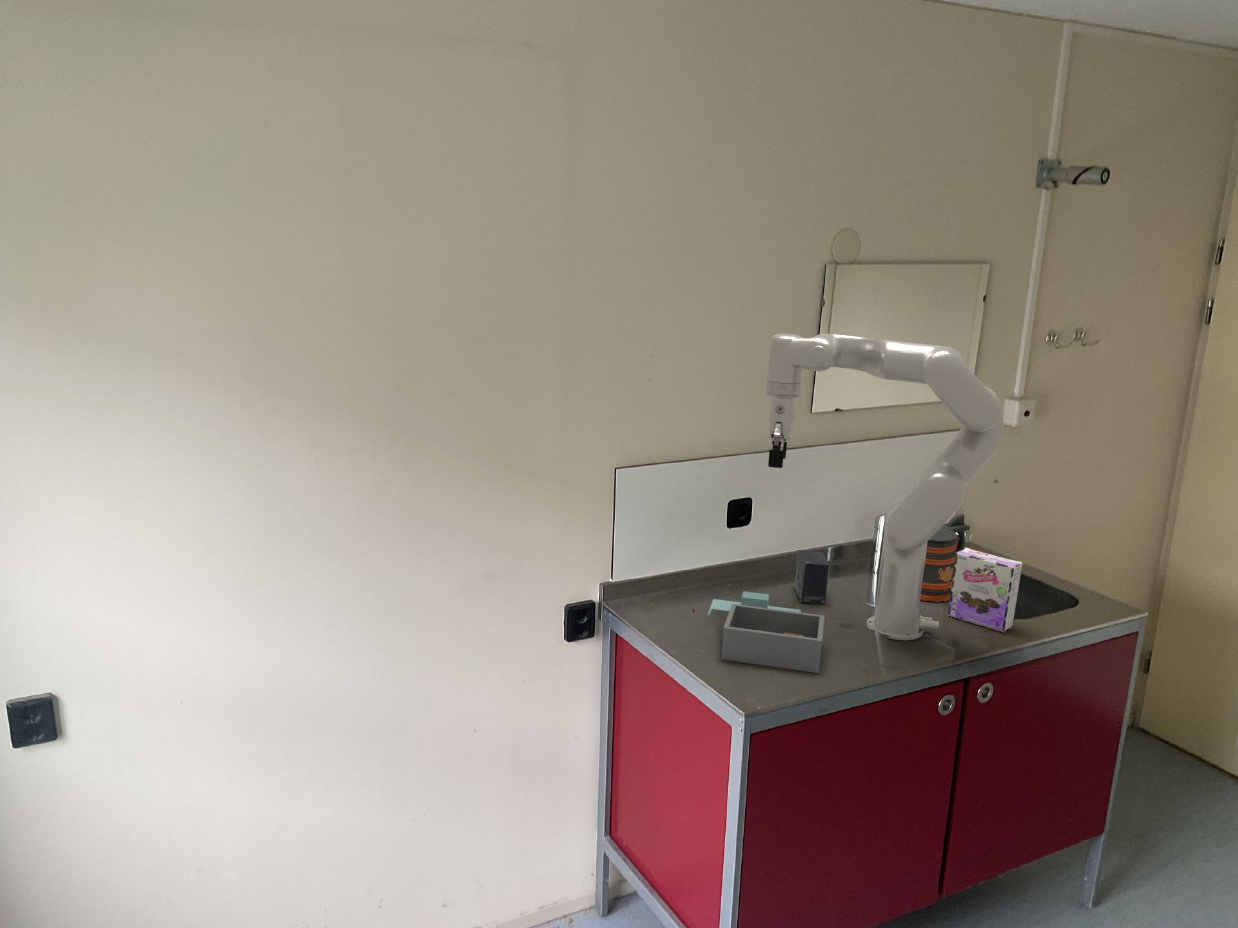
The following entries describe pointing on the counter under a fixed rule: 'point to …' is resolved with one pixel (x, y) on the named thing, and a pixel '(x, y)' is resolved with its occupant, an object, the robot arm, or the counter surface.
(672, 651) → the counter surface
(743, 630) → the tub
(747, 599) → the lid
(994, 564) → the candy box
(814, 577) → the small box
